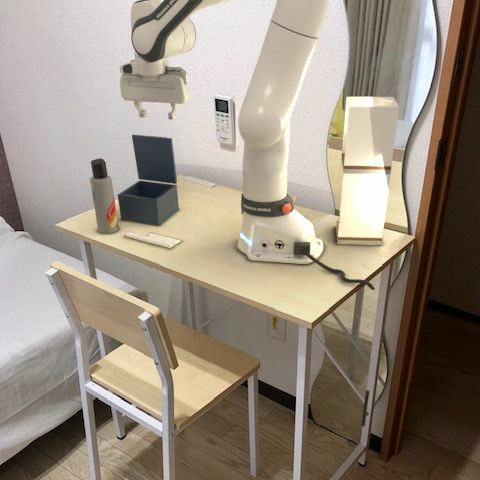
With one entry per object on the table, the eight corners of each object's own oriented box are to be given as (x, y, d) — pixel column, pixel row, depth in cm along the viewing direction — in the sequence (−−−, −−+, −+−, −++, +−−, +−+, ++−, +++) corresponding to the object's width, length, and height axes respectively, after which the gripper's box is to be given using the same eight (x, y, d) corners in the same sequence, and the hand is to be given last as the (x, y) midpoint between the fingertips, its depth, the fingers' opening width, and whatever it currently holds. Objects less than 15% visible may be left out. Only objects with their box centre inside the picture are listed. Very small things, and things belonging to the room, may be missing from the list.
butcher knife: (138, 230, 163) (137, 226, 163) (181, 241, 157) (180, 237, 156) (126, 236, 160) (125, 232, 159) (169, 248, 153) (169, 244, 152)
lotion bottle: (122, 228, 165) (113, 158, 154) (109, 235, 161) (98, 164, 150) (108, 224, 167) (97, 155, 156) (94, 231, 163) (82, 161, 152)
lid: (170, 139, 163) (178, 133, 166) (131, 135, 167) (140, 129, 170) (176, 183, 171) (183, 177, 174) (138, 179, 175) (146, 172, 178)
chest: (159, 225, 166) (156, 199, 162) (121, 220, 170) (117, 194, 166) (178, 209, 176) (176, 184, 171) (142, 204, 180) (139, 180, 175)
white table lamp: (377, 228, 162) (393, 96, 143) (381, 245, 153) (399, 107, 134) (335, 227, 163) (346, 96, 144) (337, 243, 154) (349, 107, 135)
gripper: (191, 65, 158) (195, 117, 165) (126, 62, 164) (132, 113, 172) (181, 69, 153) (185, 123, 160) (114, 66, 159) (121, 118, 167)
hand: (157, 118), depth 166 cm, fingers open, 8 cm apart
